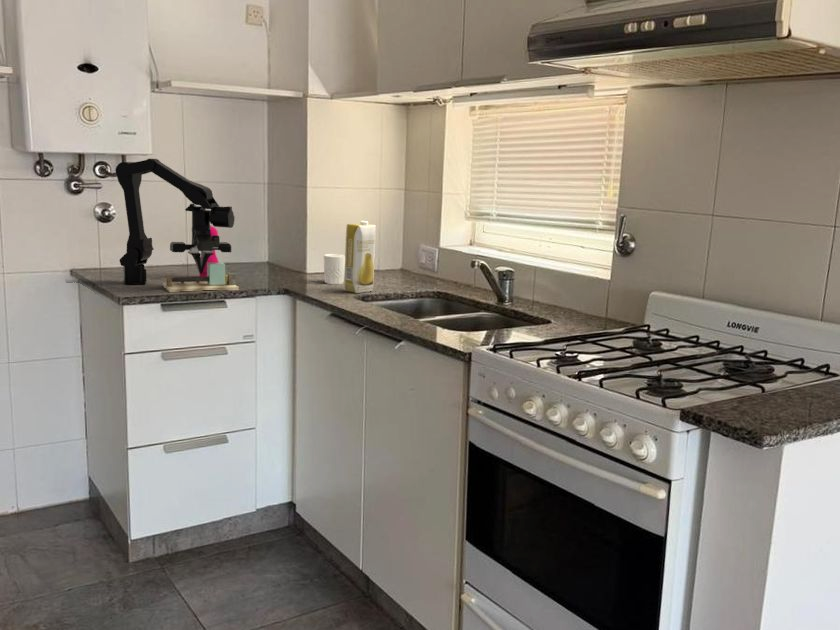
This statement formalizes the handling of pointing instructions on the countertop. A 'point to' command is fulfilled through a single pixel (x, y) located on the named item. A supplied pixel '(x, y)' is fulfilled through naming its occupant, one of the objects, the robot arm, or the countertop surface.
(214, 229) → the pepper mill
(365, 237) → the juice carton
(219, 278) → the sleeve
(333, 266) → the white cup
